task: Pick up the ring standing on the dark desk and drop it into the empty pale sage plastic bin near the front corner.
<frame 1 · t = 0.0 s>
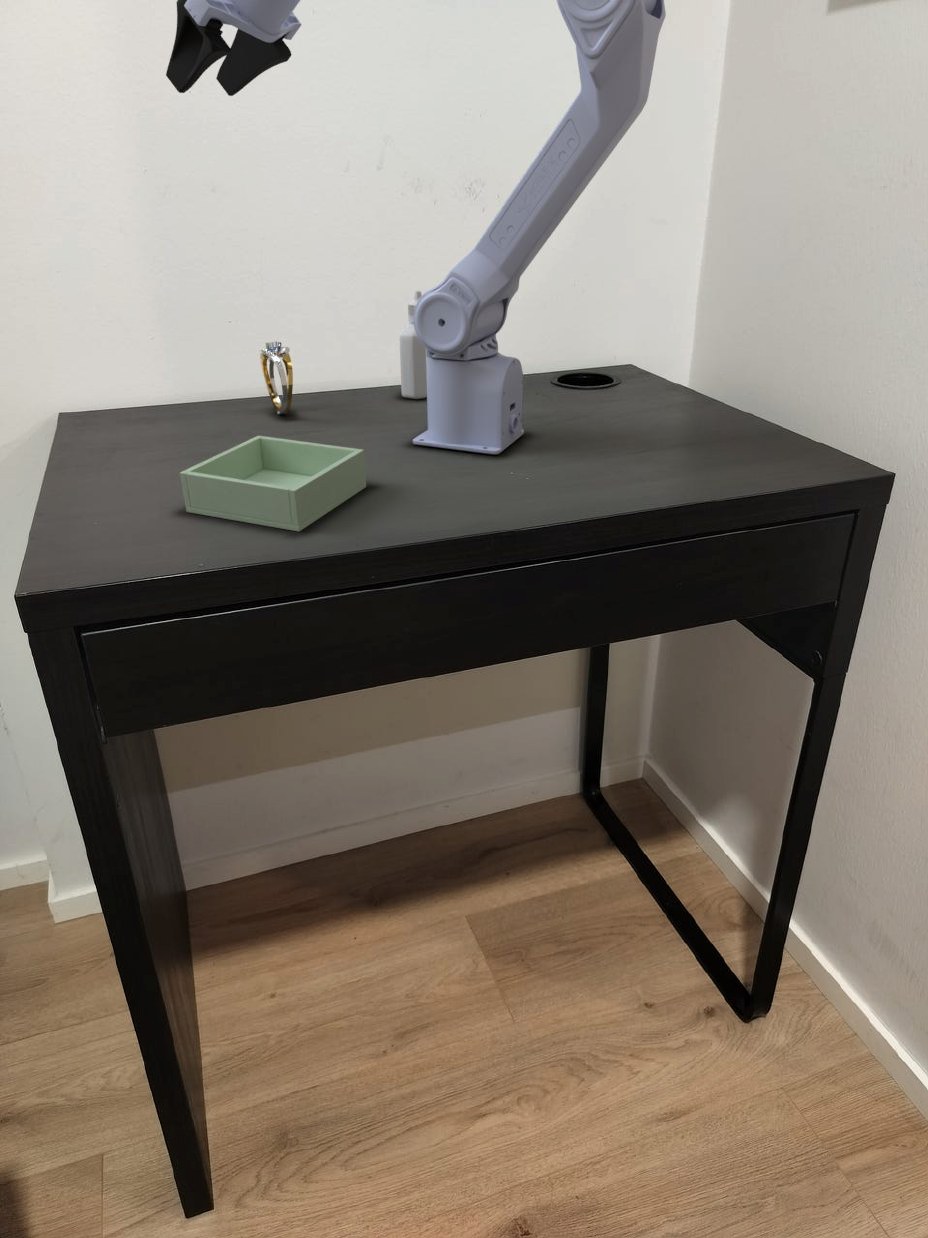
hand: (200, 85, 86), 32 cm above the table, tool tilted 50°, fingers open, 7 cm apart
eye dropper bottle: (421, 395, 108), on the table
ring: (281, 415, 101), on the table
bin: (279, 499, 77), on the table
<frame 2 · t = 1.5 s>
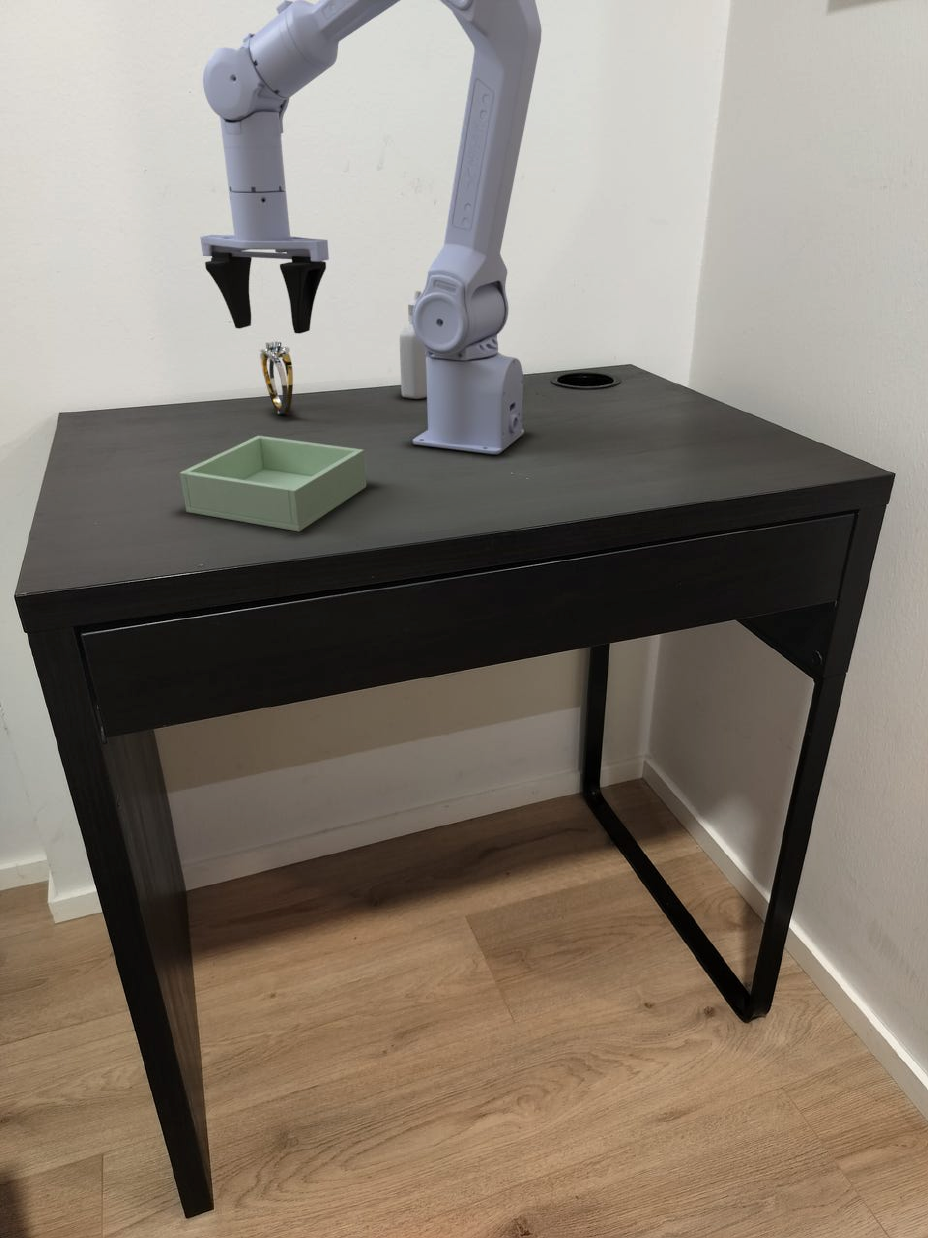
hand: (272, 329, 96), 9 cm above the table, tool pointing down, fingers open, 7 cm apart
nothing on the table moved.
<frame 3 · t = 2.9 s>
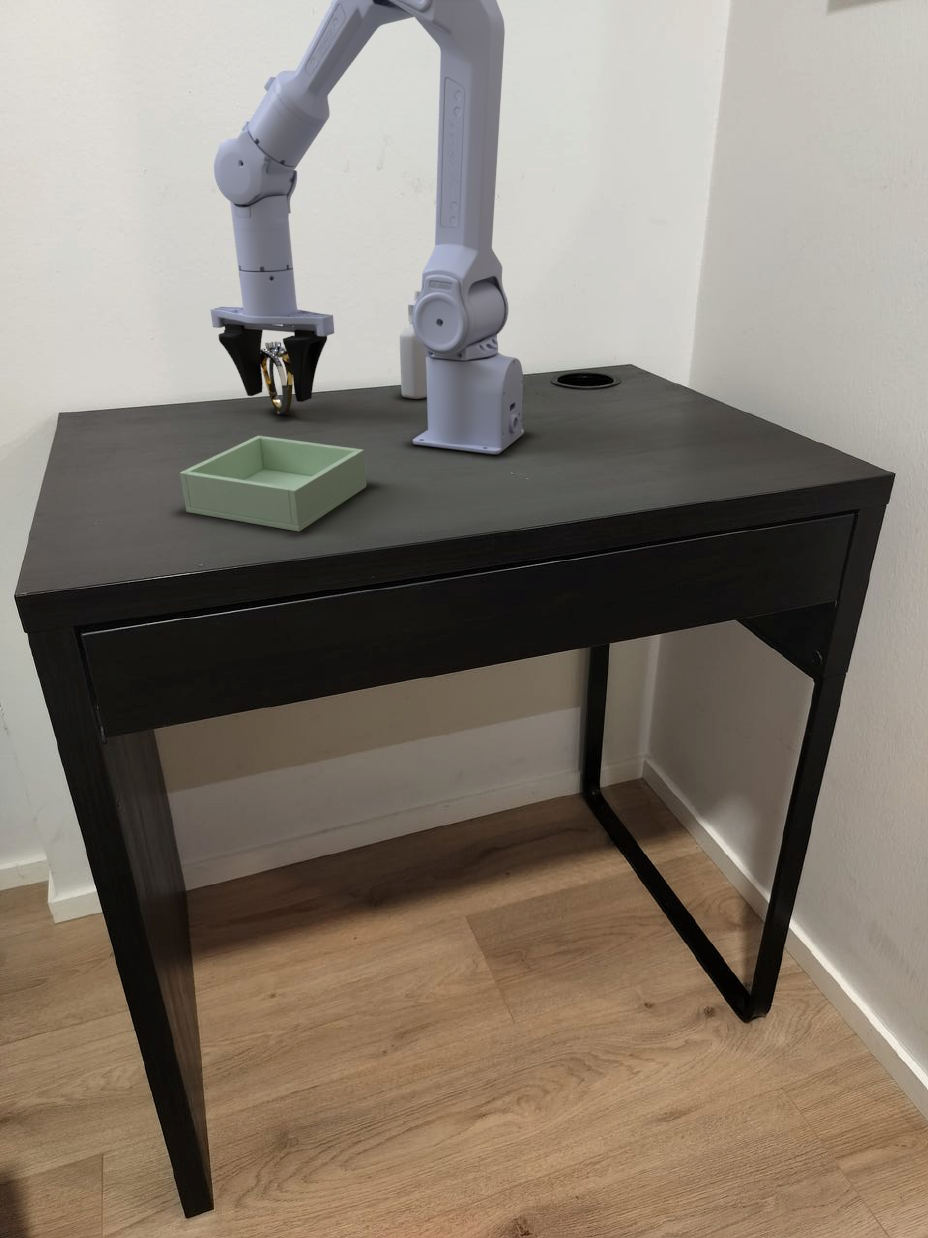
hand: (279, 396, 100), 2 cm above the table, tool pointing down, fingers closed on ring, 6 cm apart
ring: (281, 415, 101), on the table, touching gripper
everything else where it was.
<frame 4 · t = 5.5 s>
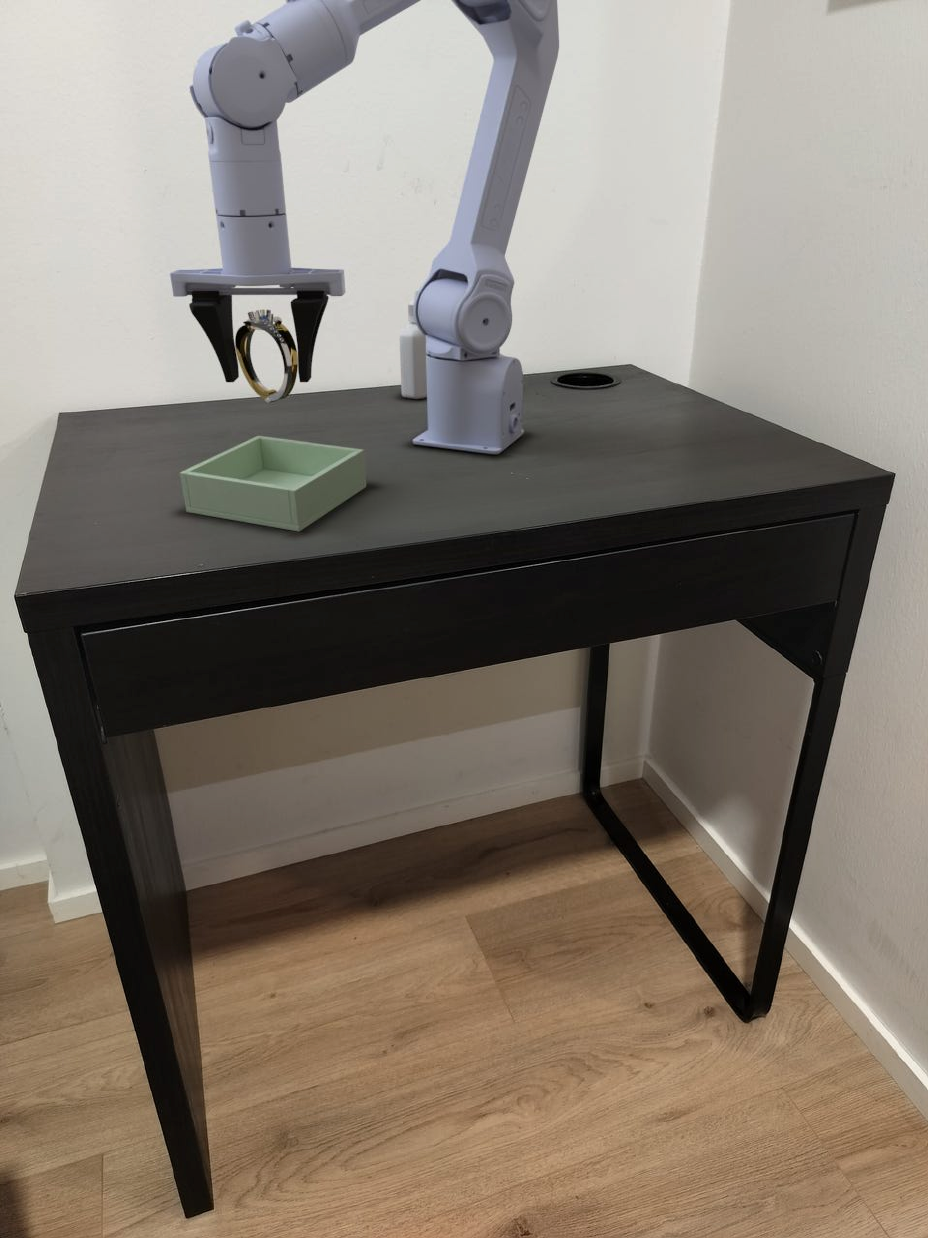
hand: (269, 379, 80), 9 cm above the table, tool pointing down, fingers closed on ring, 6 cm apart
ring: (271, 404, 81), point 6 cm above the table, touching gripper
everything else where it was.
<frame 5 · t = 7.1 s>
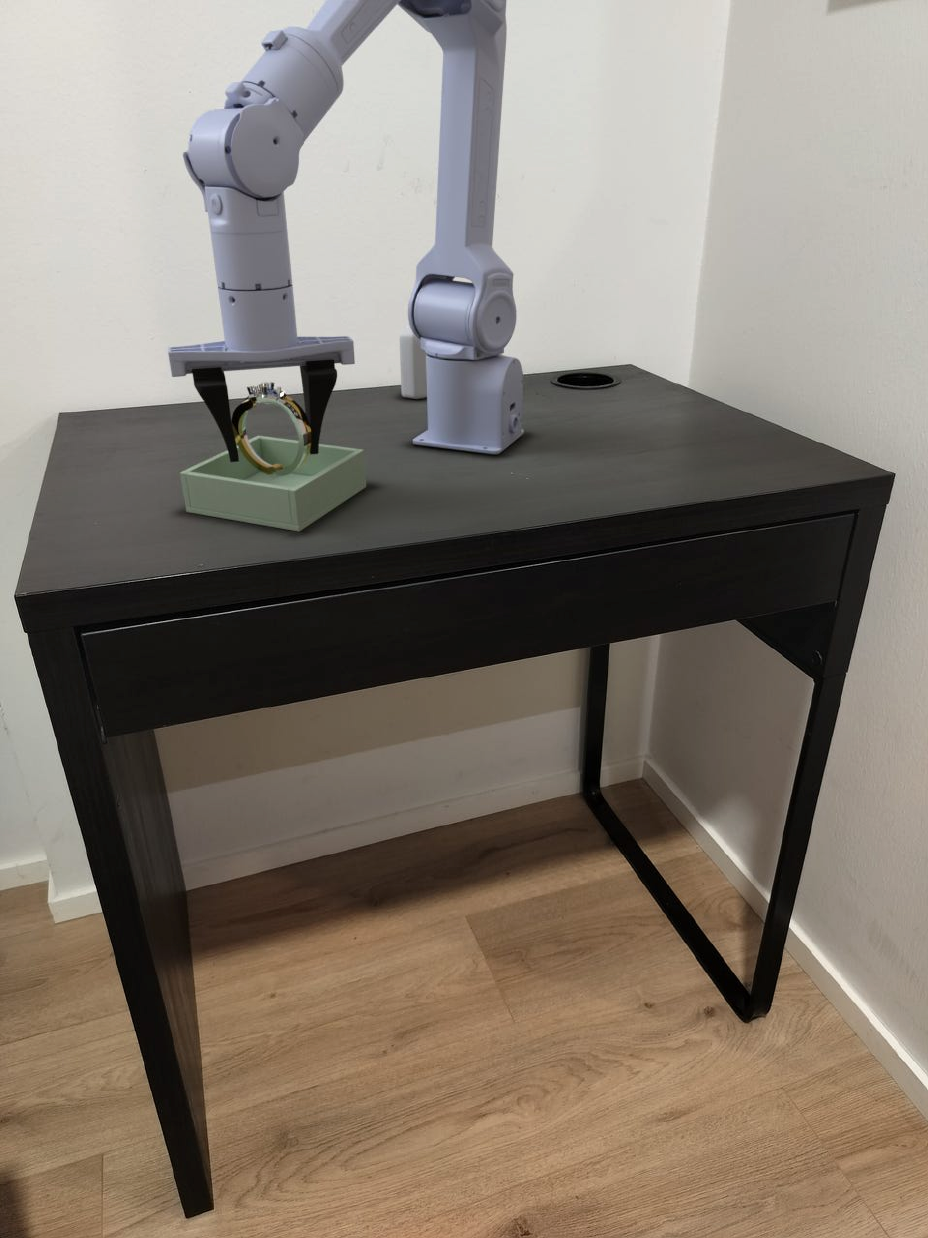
hand: (274, 454, 75), 4 cm above the table, tool pointing down, fingers closed on ring, 6 cm apart
ring: (276, 479, 76), point 2 cm above the table, touching gripper
everything else where it was.
when the fingers open (2 cm above the table, at t = 8.2 s): ring stays where it is, resting on bin.
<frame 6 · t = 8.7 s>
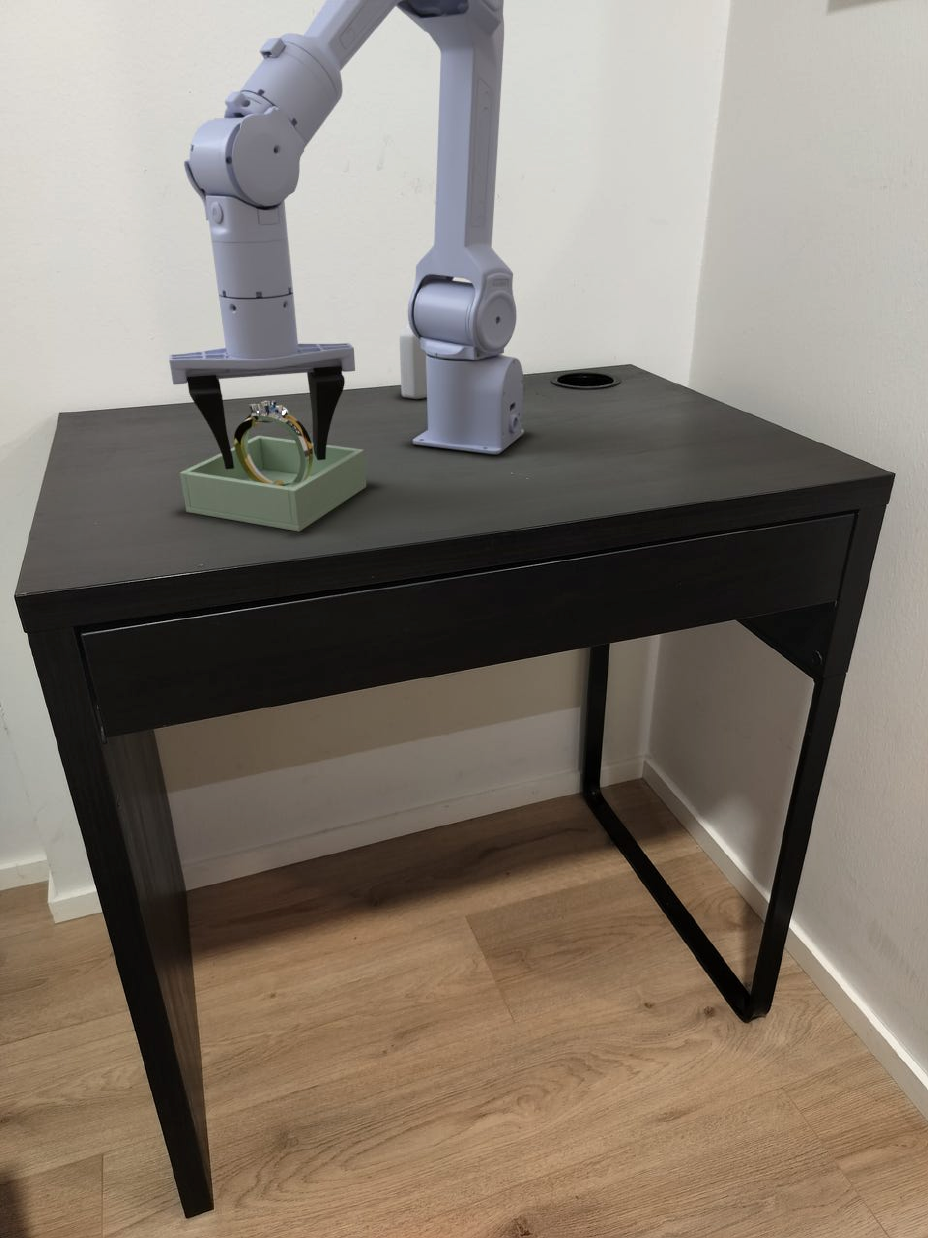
hand: (275, 460, 75), 3 cm above the table, tool pointing down, fingers open, 7 cm apart
ring: (278, 495, 77), resting on bin
everything else where it was.
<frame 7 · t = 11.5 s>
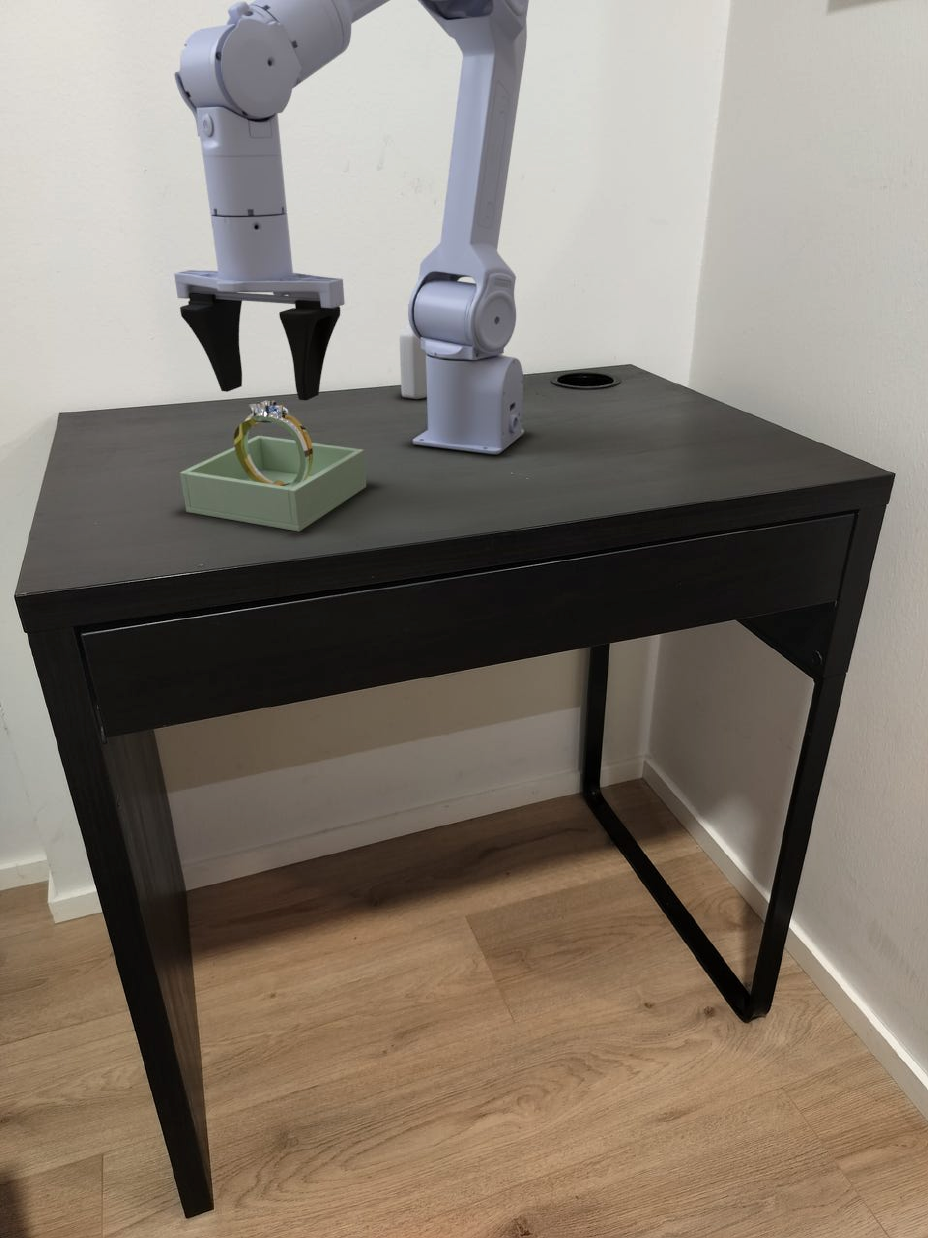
hand: (269, 392, 74), 9 cm above the table, tool pointing down, fingers open, 7 cm apart
nothing on the table moved.
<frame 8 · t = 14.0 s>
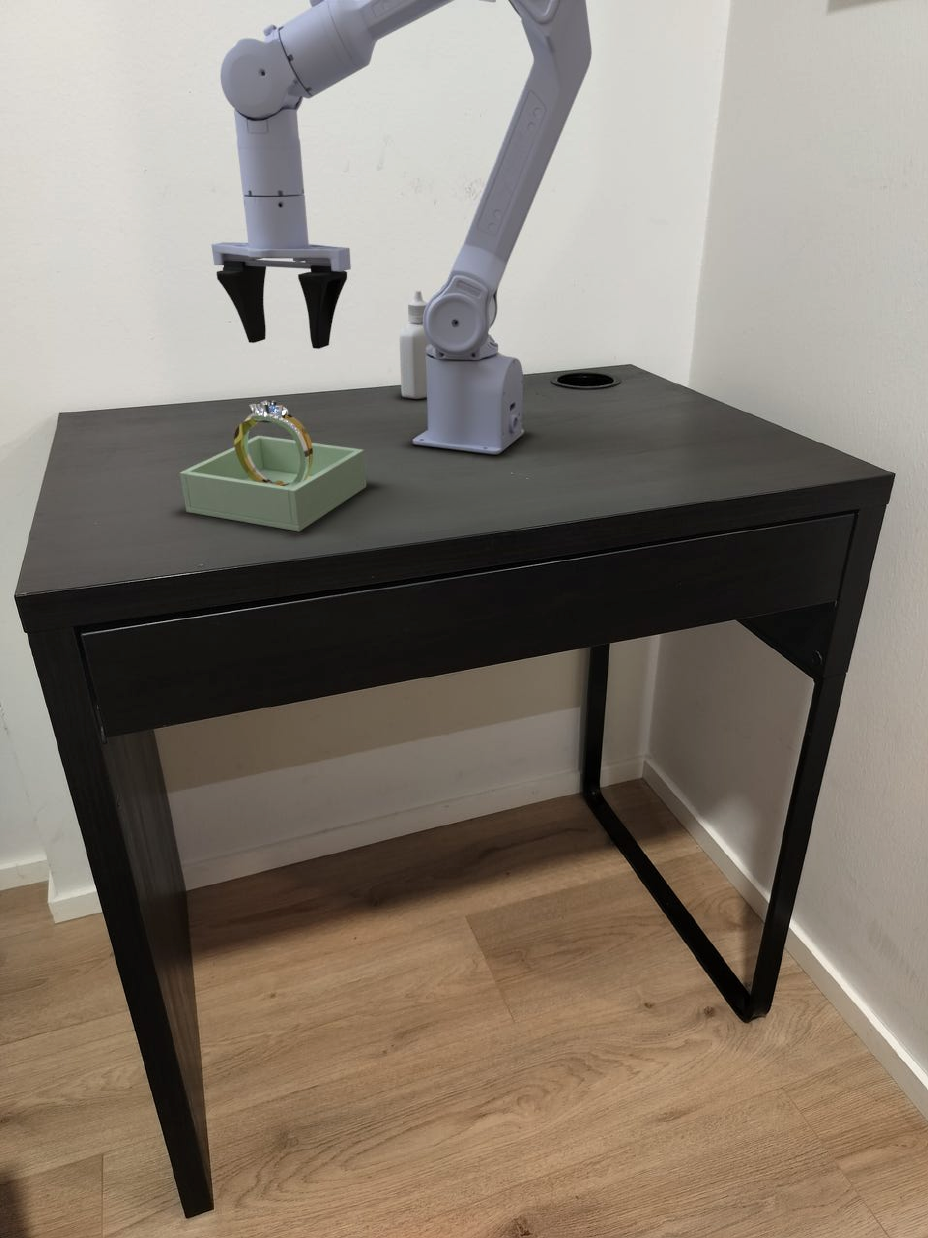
hand: (288, 343, 89), 9 cm above the table, tool pointing down, fingers open, 7 cm apart
nothing on the table moved.
at the end: ring inside the target area in the bin (0.0 cm from its centre), point 0.3 cm above the bin's base; the gripper is holding nothing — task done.
